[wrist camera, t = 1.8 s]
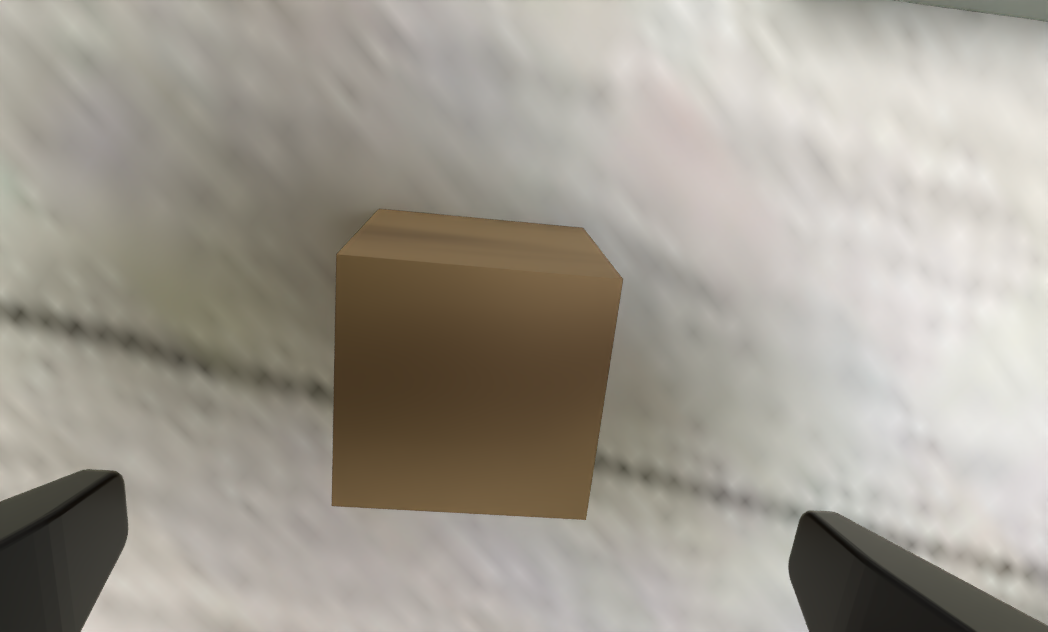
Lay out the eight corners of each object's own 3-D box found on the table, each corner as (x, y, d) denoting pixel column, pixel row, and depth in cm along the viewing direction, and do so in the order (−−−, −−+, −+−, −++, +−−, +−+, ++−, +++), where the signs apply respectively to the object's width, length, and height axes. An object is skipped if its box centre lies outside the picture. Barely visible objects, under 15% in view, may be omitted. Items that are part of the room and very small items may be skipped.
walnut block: (558, 409, 18) (585, 519, 13) (371, 396, 18) (331, 506, 13) (582, 227, 17) (623, 278, 12) (379, 208, 16) (336, 254, 11)
